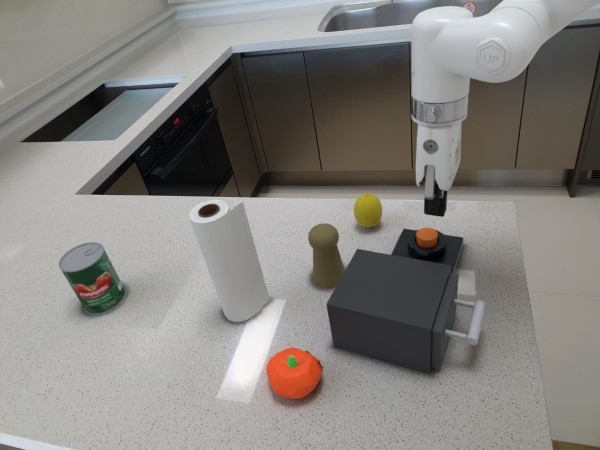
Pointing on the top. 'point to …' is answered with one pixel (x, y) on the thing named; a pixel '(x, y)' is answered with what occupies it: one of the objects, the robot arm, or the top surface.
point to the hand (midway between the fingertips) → (435, 212)
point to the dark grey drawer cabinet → (388, 308)
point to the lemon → (368, 210)
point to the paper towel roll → (230, 258)
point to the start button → (426, 237)
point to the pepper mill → (325, 255)
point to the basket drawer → (446, 319)
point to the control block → (430, 249)
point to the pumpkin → (293, 373)
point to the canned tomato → (92, 278)
